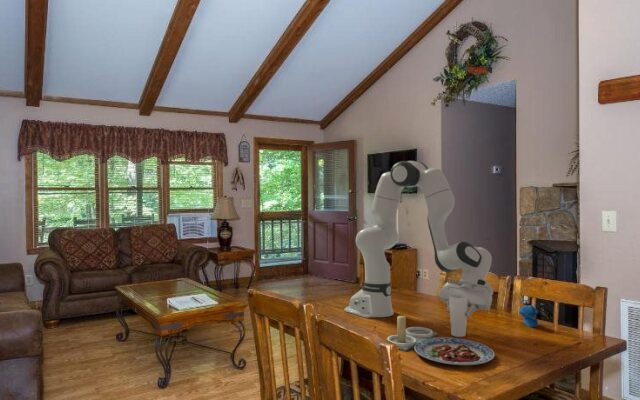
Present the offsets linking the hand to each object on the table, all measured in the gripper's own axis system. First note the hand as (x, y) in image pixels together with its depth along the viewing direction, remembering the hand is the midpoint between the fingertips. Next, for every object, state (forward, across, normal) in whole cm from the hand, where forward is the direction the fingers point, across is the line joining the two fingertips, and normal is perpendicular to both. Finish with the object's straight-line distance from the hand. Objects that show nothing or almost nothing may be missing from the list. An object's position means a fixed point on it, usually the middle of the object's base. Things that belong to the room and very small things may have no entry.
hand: (457, 313), depth 177 cm
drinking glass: (+6, 0, +6) cm, 9 cm away
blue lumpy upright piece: (-17, +14, +29) cm, 37 cm away
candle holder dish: (+18, -10, -6) cm, 21 cm away
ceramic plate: (+20, +9, -8) cm, 24 cm away
